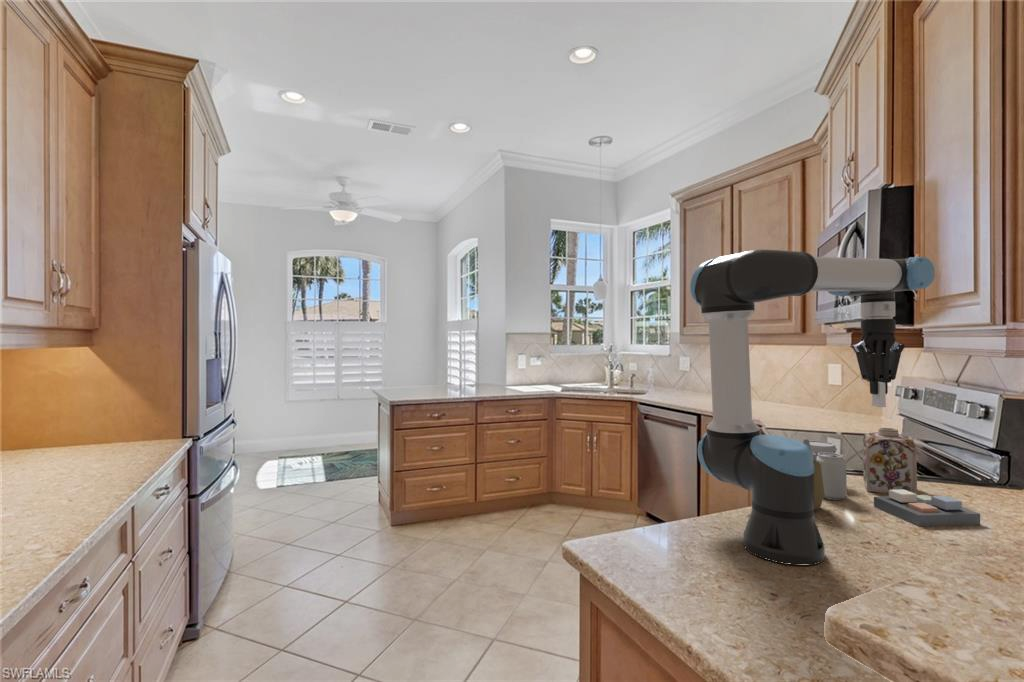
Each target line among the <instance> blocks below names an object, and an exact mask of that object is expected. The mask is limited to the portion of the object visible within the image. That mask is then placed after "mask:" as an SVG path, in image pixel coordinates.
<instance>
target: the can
mask: <svg viewBox="0 0 1024 682" xmlns="http://www.w3.org/2000/svg"><path fill="white" fill-rule="evenodd" d="M816 461H817V462H819V463H820V464H821V470H822V478H823V486H824V494H825V496H824V498H823V499H828V500H837V501H839V500H843V499H844V498H846V497H847V495H848V494H847V491H848V490H847V461H846V460H845V458H844V455H843V454H840V453H836V452H835V453H828V452H821V453H818V456H817V460H816Z"/></svg>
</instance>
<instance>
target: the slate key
mask: <svg viewBox="0 0 1024 682" xmlns="http://www.w3.org/2000/svg"><path fill="white" fill-rule="evenodd" d="M930 496H931V504H932V505H934V506H937V507H940V508H941V510H942V511H944V512H952V510H961V509H962V507H963V501H962V500H960V499H957V498H954V497H951V496H948V495H941V496H939V495H936V496H934V495H933V496H932V495H930Z"/></svg>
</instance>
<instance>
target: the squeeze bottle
mask: <svg viewBox="0 0 1024 682" xmlns="http://www.w3.org/2000/svg"><path fill="white" fill-rule="evenodd" d="M809 441H810V439H808V438H804V439H803V440H802V443H804V444H805V445H807V446H808V447H809V448H810V449H811V446H810V443H809ZM811 451H812V450H811ZM812 454H813V464H814V468H815V470H814V511H815V510H817V511H818V510H819V509H820V508H821V507H822V503H823V501H824V499H825V498H824V496H825V494H824V486H823V478H822V470H821V464H820V463H819V462H817V461H816V460H817V454H816V453H813V452H812Z"/></svg>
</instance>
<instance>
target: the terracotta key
mask: <svg viewBox="0 0 1024 682" xmlns="http://www.w3.org/2000/svg"><path fill="white" fill-rule="evenodd" d="M908 507H909V508H911V509H914V510H916V511H919V512H921V513H931V512H938V508H936V507H934V506H931V505H928V504H926V503H908Z"/></svg>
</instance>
